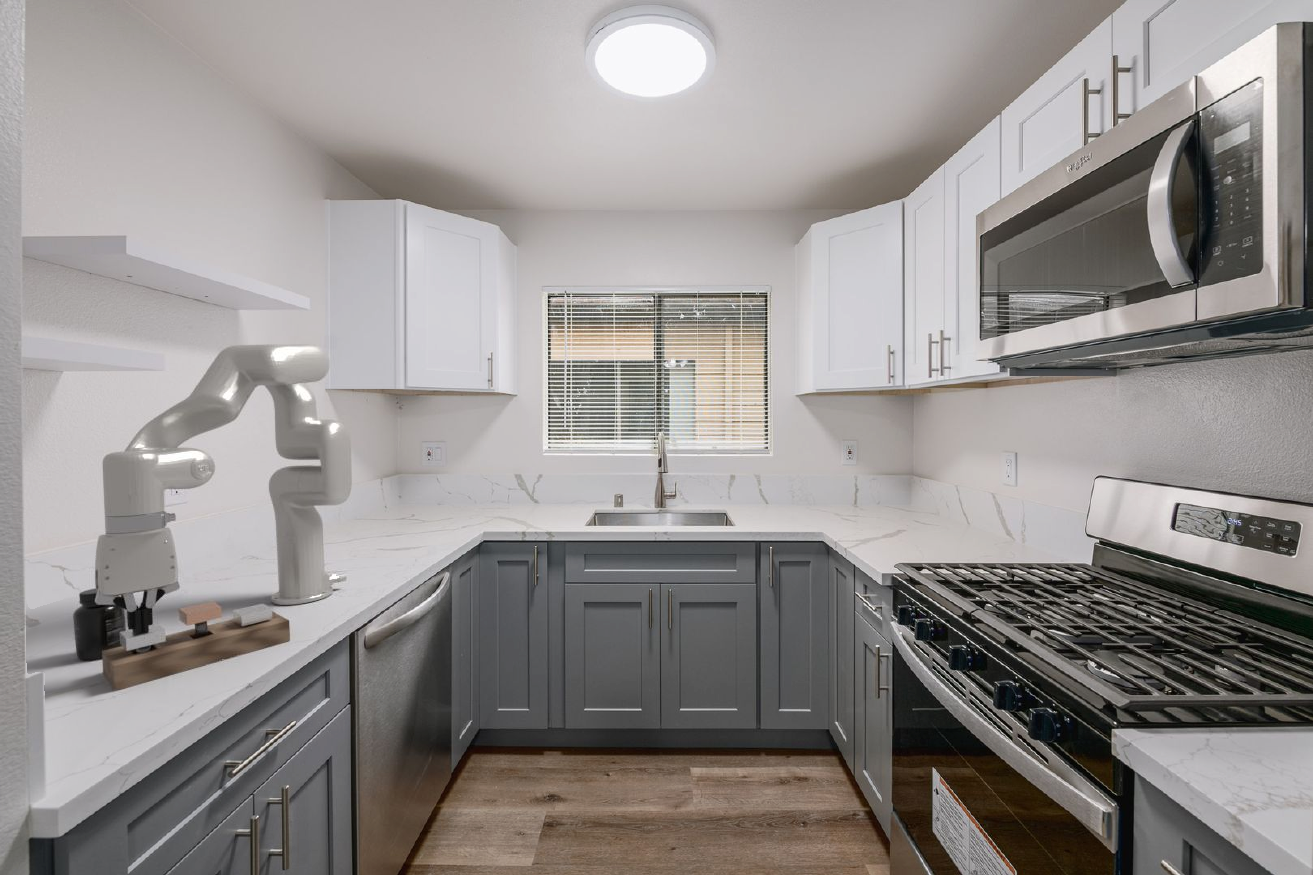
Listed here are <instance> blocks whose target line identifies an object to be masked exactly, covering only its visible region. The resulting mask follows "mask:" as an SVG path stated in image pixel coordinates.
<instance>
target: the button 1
mask: <svg viewBox="0 0 1313 875" xmlns="http://www.w3.org/2000/svg"><path fill="white" fill-rule="evenodd" d="M165 641H166V629H165V628H164V627H162V625H160V624H159V623H154V624H153V625H149V632H146V633H144V632H142V633H140V634H137V635H136V634H135V633H134V632H133V630H132V629H131V630H129V629H128V630H127V629H126V631H123V632H120V644H121V645H122V646H123V647H124V648H125V650H126V651H128V650H132V649H136V651H137V654H138V653H142V652H146V651H150V650H151V647H150V645H153V644H157V643H161V642H165Z"/></svg>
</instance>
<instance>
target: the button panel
mask: <svg viewBox="0 0 1313 875" xmlns="http://www.w3.org/2000/svg"><path fill="white" fill-rule="evenodd" d="M272 618H273V619H269V620H265V621H261V622H259V623H256V624H252V625H248V626H247V625H246V626H240V625H239V624H237V623H236V622H234V621H233V618H232V619H228V620H225V621H219V622H216V623H212V624H207V628H208V636H205V637H201V638H197V639H195V628H191V629H186V630H183V631H179V632H175V633H171V634H165V636H166V641H165V642H161V643H157V644H153V645H150V647H151V650H150V651H146V652H142V653H138V654H137V651H136V649H132V650H128V651H126V650H125V648H124V647H123V646H121V647H117V648H112V649H108V650H104V651H102V674H103V676H104V678H106V680H107V682H108V683H109V684H110V686H111V687H112V689H113V690H114V691H115V692H116V691H120V690H124V689H128V688H130V687H133V686H138V685H141V684H144V683H148V682H151V681H155V680H157V679H162V678H165V677H169V676H172V675H175V674H178V673H183V672H186V671H190V670H193V668H194V669H196V668H201V667H203V666H207V665H206V664H208V665H210V664H209V663H211V664H213V663H214V662H215V663H217V661H218V662H220V661H219V660H221V661H223V660H222V659H225V660H228V659H232V658H235V657H238V656H237V655H239V656H241V655H245V654H250V653H252V652H256V651H259V650H263V649H267V648H270V647H273V646H276V645H280V644H284V643H288V642H291V631H290V630H291V628H290V627H291V626H290V620H289V619H287V618H285V617H284V616H282V615H280V614H278V613H276V612H275V611H273V610H272ZM231 657H232V658H231Z"/></svg>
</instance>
